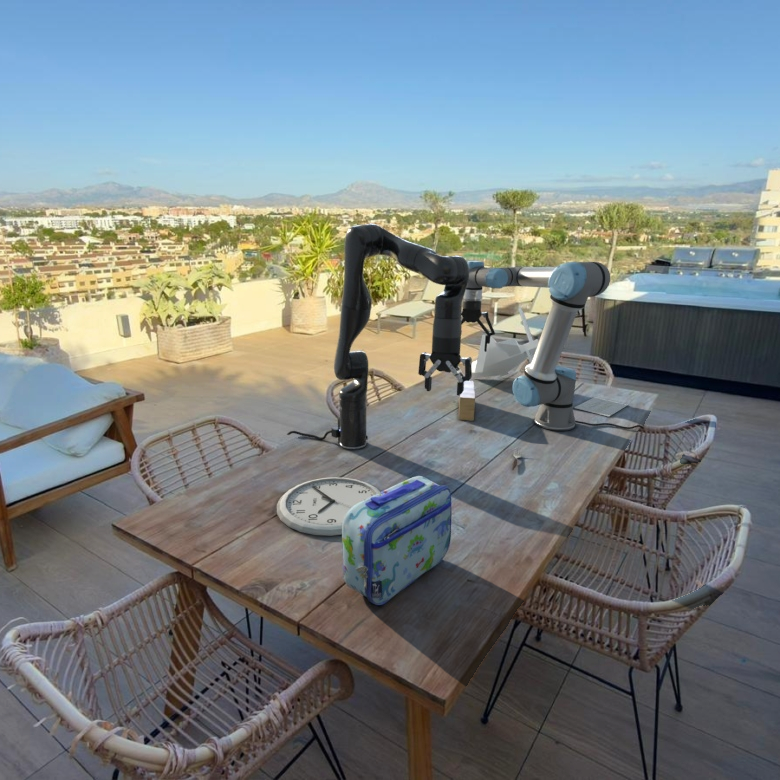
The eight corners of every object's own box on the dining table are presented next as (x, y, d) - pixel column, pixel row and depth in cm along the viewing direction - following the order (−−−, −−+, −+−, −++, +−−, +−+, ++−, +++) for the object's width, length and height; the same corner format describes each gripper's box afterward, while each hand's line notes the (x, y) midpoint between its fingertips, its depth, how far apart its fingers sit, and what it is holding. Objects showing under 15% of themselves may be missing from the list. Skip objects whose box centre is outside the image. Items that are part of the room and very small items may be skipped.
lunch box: (371, 618, 102) (371, 524, 95) (336, 591, 109) (334, 502, 103) (455, 562, 119) (460, 479, 113) (420, 542, 126) (423, 463, 120)
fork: (508, 471, 164) (508, 465, 164) (514, 451, 179) (515, 446, 178) (516, 472, 164) (517, 466, 163) (522, 452, 178) (523, 447, 177)
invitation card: (608, 416, 214) (573, 407, 224) (608, 416, 214) (573, 408, 224) (628, 404, 229) (594, 396, 238) (628, 405, 229) (594, 397, 238)
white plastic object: (488, 420, 264) (468, 397, 239) (469, 347, 286) (449, 319, 261) (560, 396, 252) (546, 369, 227) (534, 322, 274) (519, 290, 249)
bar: (458, 400, 231) (460, 380, 228) (472, 401, 230) (473, 381, 228) (458, 419, 208) (460, 397, 205) (473, 420, 207) (475, 398, 205)
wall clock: (392, 527, 129) (268, 531, 127) (391, 533, 130) (269, 537, 127) (383, 473, 158) (282, 475, 155) (383, 478, 158) (282, 480, 156)
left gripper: (416, 334, 137) (414, 393, 142) (469, 339, 132) (466, 400, 137) (425, 329, 144) (423, 385, 148) (476, 334, 139) (472, 392, 143)
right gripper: (441, 299, 212) (439, 350, 218) (503, 302, 209) (499, 353, 215) (442, 297, 219) (439, 347, 226) (502, 299, 216) (498, 349, 223)
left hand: (443, 392), depth 143 cm, fingers open, 8 cm apart
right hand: (469, 350), depth 220 cm, fingers open, 13 cm apart
